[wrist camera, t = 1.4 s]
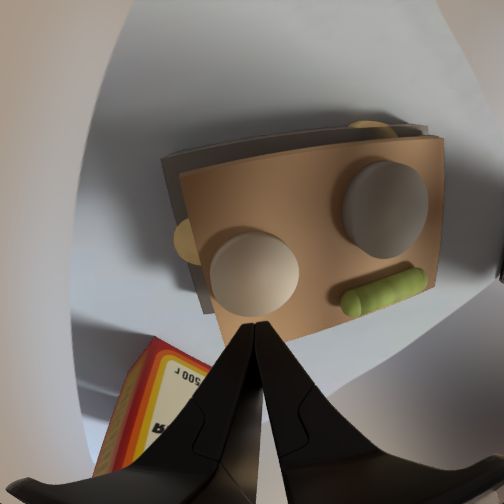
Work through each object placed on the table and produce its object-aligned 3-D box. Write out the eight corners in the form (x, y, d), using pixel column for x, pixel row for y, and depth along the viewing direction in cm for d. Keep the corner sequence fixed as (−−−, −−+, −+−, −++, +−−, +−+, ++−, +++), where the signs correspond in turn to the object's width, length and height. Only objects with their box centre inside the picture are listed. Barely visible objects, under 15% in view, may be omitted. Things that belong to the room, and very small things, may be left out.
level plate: (428, 134, 14) (469, 141, 11) (423, 271, 18) (454, 294, 15) (179, 171, 12) (178, 184, 9) (223, 335, 16) (233, 377, 13)
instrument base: (409, 119, 16) (426, 121, 14) (409, 265, 20) (422, 280, 18) (161, 151, 17) (150, 155, 15) (201, 299, 21) (197, 318, 19)
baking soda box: (127, 372, 25) (79, 522, 10) (155, 336, 23) (98, 523, 8) (210, 413, 27) (198, 555, 13) (248, 384, 25) (248, 554, 11)
